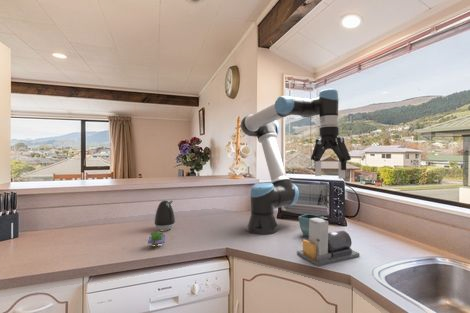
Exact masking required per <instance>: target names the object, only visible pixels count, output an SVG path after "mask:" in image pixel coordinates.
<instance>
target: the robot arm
mask: <svg viewBox="0 0 470 313" xmlns="http://www.w3.org/2000/svg"><path fill="white" fill-rule="evenodd" d="M339 100H340V99H339V91H338V90H337V89H335V88H327V89H322V90H319V95H318V97H316V98H312V99H311V98H302V97H296V96H295V97H294V96H289V95H281V96H278V97H277V99H276V100H275V102H274V103H273V104H271V105H270V106H269V105H268V106H267V107H266V108H263V109H262V110H260V111H258V112H256V113H253V114H248V115H246V116H244V117H243V118H242V120H241V121H240V129H241V131H242V132H243V133H244V135H247V136H248V137H256V138H257V142H259V143H260V144H261V148H262V151H263V153H264V158H265V161H266V166H267V170H268V173H269V176H270V180H271V181H270V182H263V183H256V184H254V185H253V186H251V187H250V217H249V220H248V223H247V231H248V232H250V233H252V234H257V235H270V234H275V233H277V232H278V224H277V221H276V218H275V210H274V209H275V208H276V209H277V208H284V207H285V208H288V207H290V206H294V205H296V204H297V203H298V200H299V196H300V191H299V188H298V186H297V185H296V184H294V183H292V180H291V179H290V178H289V177H288V176H287V173H286V169H285V166H284V164H283V160H282V157H281V156H282V155H281V152H280V149H279V147H278V142H277V138H278V135H279V132H280V125H279V123H278V120H281V119H283V118H286V117H288V116H300V117H302V118H311V117H314V116H315V117H316V116H318V117H319V127H320V128H319V136H320V139H319V138H316V139H315V143H314V144H315V145H314V147H313V150H312V154H311V157H310V159H311V160H312V161H314V175H315V177H322V161H321V159H322V157H323V156H324V154H325V152H326V150H332V151H333V153H334V154H335V156H336V157H337V159H338V160H339V161H338V163H337V164H338V179H339V180H340V179H346V170H347V163H348V161H351V160H352V158H351V155H350V153H349V150H348V148H347V146H346V143H345V137H343V136H339V134H340V133H339V131H340V129H339V127H338V126H339V124H340V123H339Z"/></svg>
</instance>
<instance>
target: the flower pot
mask: <svg viewBox="0 0 470 313" xmlns="http://www.w3.org/2000/svg"><path fill="white" fill-rule="evenodd" d="M311 218H320V219H323V220H325V219H324V218H325V217H324V216H323V215H317V214H311V213H305V214H302V215H300V216H298V222H299V229H300V230H301V233H302V235H304V236H306V237H309V219H311Z"/></svg>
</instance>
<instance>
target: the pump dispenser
mask: <svg viewBox="0 0 470 313" xmlns="http://www.w3.org/2000/svg"><path fill="white" fill-rule="evenodd" d="M172 203H173V200H170V201H168V200H161V201H160V202H159V204H158V206H157V209H156V211H155V215H154V225H155V228H156V229H157V230H158V231H160V230H168V231H170V230H172V229H173V227H174V225H175V223H176V219H175V218H176V217H175V213H174V209H173V206H172ZM171 228H172V229H171ZM169 229H170V230H169Z"/></svg>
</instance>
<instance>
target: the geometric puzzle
mask: <svg viewBox="0 0 470 313" xmlns="http://www.w3.org/2000/svg"><path fill="white" fill-rule="evenodd" d="M165 241H166V235H165V234H164V231H160V230H158V229H157V230H156V231H154V233H153V232H152V233H150V235H149V237H148V240H147V245H150V244H152V245H155V246H154V247H158V248H160V247H161V246H157V245H158V244H162V245H163V244H165V243H166V242H165ZM152 245H151V246H152Z"/></svg>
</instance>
